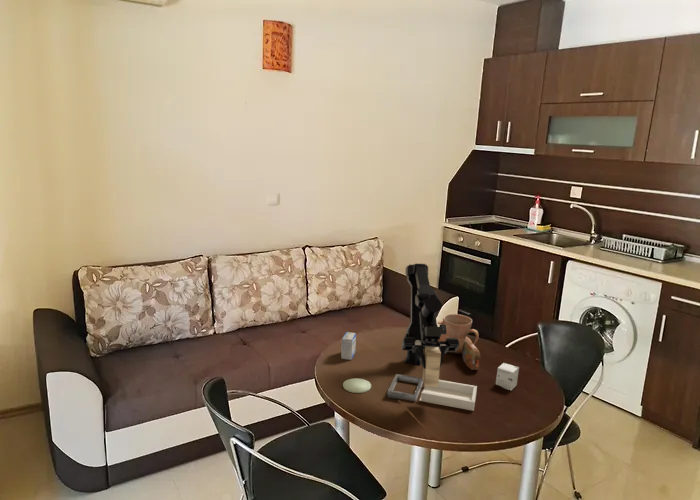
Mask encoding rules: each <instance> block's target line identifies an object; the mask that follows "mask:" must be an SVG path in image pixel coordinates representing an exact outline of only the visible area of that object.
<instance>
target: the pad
mask: <svg viewBox="0 0 700 500" xmlns="http://www.w3.org/2000/svg"><path fill="white" fill-rule="evenodd" d="M342 386H343V389H344V390H345V391H347V392H349V393H352V394H353V393H354V394H364V393H366V392H369V391H371V389H372V384H371V382H370V381H368V380H366V379H364V378H359V377H358V378H350V379H346V380H345V381H343V383H342Z"/></svg>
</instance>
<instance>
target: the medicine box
mask: <svg viewBox="0 0 700 500" xmlns="http://www.w3.org/2000/svg"><path fill="white" fill-rule="evenodd" d="M356 334H357V333H356V332H349V331H346V332H345V333H344V335H343V336H342V338H341V343H340V344H341V349H340V351H341V352H340V355H341V356H340V357H341V359H342V360H350V361H352V360H353V359H354V355H355V353H356V346H357V345H356V341H357V335H356Z"/></svg>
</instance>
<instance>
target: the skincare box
mask: <svg viewBox="0 0 700 500" xmlns="http://www.w3.org/2000/svg"><path fill="white" fill-rule="evenodd" d="M496 371H497V372H496V378H495V385H496V386H499V387H501V388H503V389H504V390H506V391H507V390H508V391H509V390H510V392H511V391H513V390H514V388H515V387H517V385H518V379H519V378H518V377H519V371H520V367H519V366H515V365H512V364H509V363H506V362H503V363H501V365H499V366H498V367H497V368H496Z"/></svg>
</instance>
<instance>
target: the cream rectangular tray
mask: <svg viewBox="0 0 700 500" xmlns="http://www.w3.org/2000/svg"><path fill="white" fill-rule="evenodd" d="M477 388H478V386H477V385H473V384H472V385H471V384H466V383H460V382H454V381H449V380H443V379H439V384H438V387H426V386H424V387H423V389H422V391H421V394H420V398H419V402H425V403H429V404H434V405H441V406H446V407H451V408H457V409H462V410H467V411H473V412H474V411H475V406H476V405H475V404H476V398H477V391H478V390H477Z"/></svg>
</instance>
